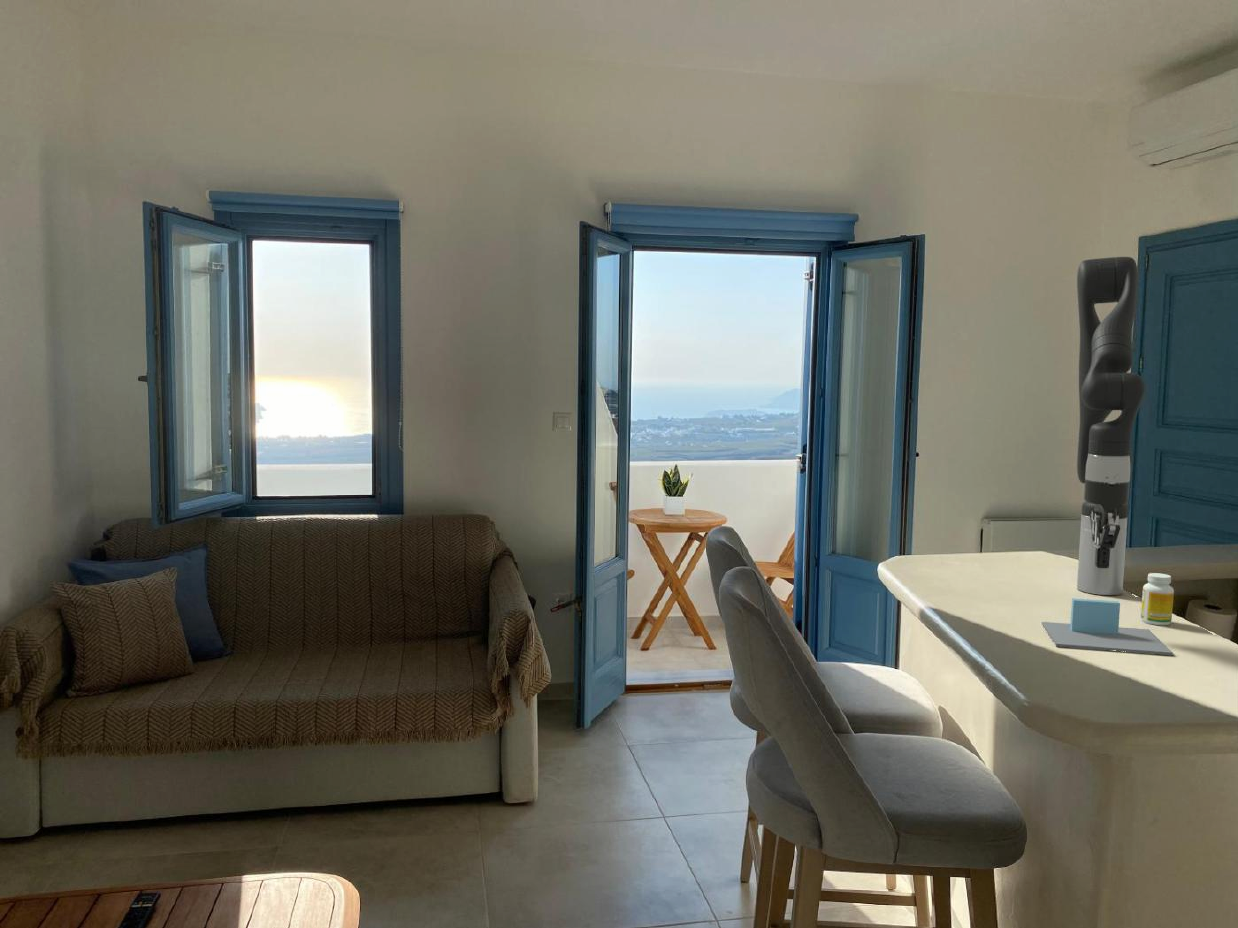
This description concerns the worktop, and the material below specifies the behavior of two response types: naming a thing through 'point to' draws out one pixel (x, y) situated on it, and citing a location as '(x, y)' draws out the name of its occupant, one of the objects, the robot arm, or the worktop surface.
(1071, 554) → the worktop surface
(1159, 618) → the supplement bottle
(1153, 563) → the worktop surface
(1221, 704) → the worktop surface
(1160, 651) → the mat
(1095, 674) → the worktop surface
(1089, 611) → the block
